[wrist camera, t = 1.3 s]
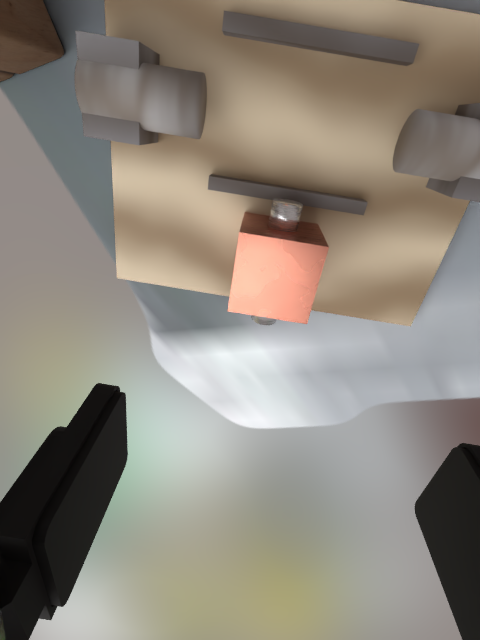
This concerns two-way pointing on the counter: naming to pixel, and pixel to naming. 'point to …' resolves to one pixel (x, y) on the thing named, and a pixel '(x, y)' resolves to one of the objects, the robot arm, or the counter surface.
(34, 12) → the brown long handled part
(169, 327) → the counter surface
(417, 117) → the jig
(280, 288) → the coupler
